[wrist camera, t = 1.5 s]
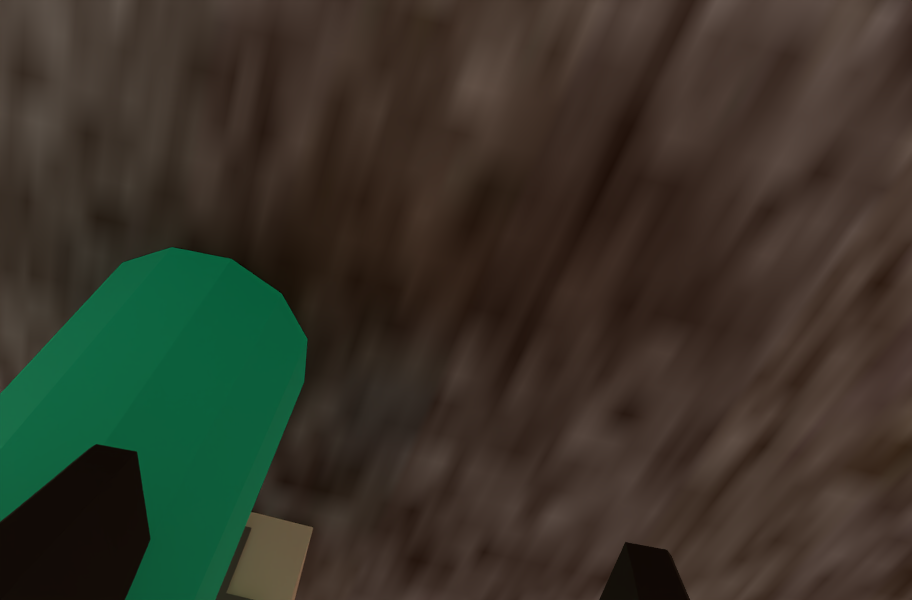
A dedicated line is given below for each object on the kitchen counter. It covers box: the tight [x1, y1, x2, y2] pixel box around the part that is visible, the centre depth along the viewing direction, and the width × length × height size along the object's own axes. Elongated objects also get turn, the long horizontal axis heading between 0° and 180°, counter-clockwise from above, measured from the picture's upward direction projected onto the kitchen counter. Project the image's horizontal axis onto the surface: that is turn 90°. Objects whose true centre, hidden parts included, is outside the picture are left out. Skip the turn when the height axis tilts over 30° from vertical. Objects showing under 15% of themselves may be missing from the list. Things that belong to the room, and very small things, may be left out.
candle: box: [0, 247, 308, 600], centre depth 15 cm, size 6×6×12 cm
